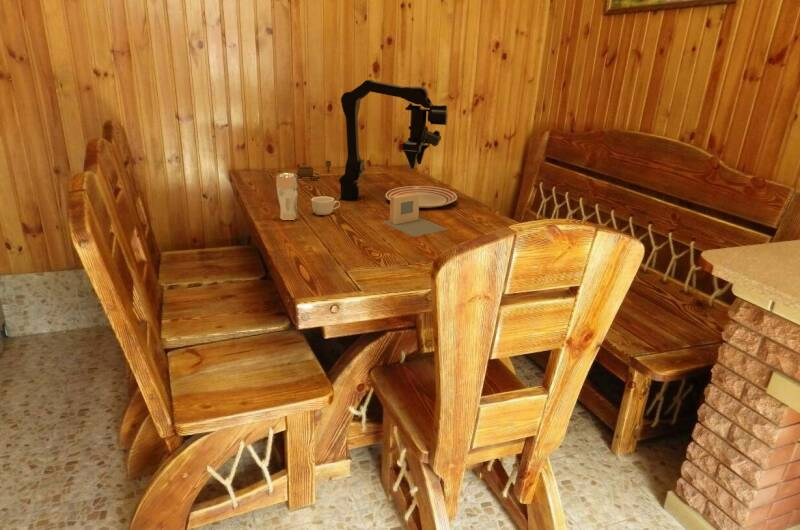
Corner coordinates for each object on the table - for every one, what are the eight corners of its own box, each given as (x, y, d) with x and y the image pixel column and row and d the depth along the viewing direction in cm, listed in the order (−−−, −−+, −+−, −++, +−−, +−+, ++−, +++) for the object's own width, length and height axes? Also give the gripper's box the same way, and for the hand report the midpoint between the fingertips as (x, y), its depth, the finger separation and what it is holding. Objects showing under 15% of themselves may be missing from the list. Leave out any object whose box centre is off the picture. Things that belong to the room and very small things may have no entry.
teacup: (313, 217, 184) (313, 202, 182) (310, 211, 191) (309, 197, 189) (342, 216, 187) (342, 200, 185) (338, 210, 194) (337, 195, 192)
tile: (389, 222, 180) (390, 196, 177) (413, 217, 185) (414, 192, 182) (394, 224, 178) (394, 197, 175) (418, 219, 183) (419, 194, 180)
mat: (381, 223, 180) (381, 221, 180) (415, 216, 188) (415, 215, 188) (413, 237, 167) (414, 236, 167) (448, 230, 175) (448, 229, 174)
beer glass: (281, 222, 178) (279, 178, 173) (276, 217, 184) (273, 173, 179) (302, 220, 181) (300, 176, 176) (295, 214, 187) (293, 172, 182)
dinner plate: (452, 215, 192) (453, 206, 190) (377, 209, 197) (377, 200, 195) (460, 196, 217) (460, 188, 215) (393, 191, 222) (393, 183, 220)
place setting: (288, 175, 246) (287, 162, 244) (330, 172, 254) (329, 160, 252) (297, 184, 232) (296, 170, 229) (341, 180, 239) (341, 167, 237)
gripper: (433, 128, 184) (430, 173, 190) (445, 122, 200) (442, 163, 206) (402, 125, 187) (400, 170, 193) (416, 120, 203) (414, 161, 209)
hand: (416, 166), depth 200 cm, fingers open, 9 cm apart
